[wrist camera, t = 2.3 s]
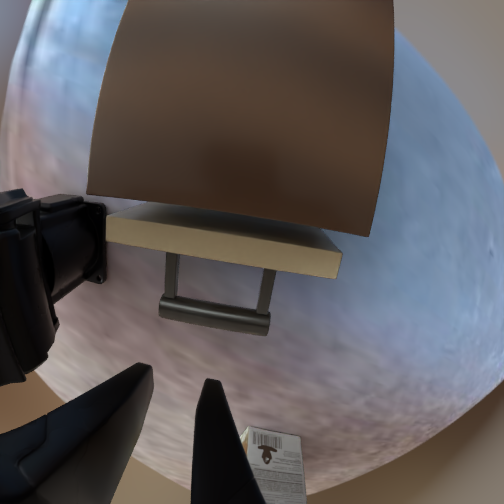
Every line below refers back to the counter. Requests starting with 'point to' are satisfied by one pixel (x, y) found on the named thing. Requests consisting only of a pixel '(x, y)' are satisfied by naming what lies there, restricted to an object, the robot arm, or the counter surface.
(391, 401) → the counter surface
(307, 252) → the drawer
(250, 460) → the coffee box
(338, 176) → the cabinet
